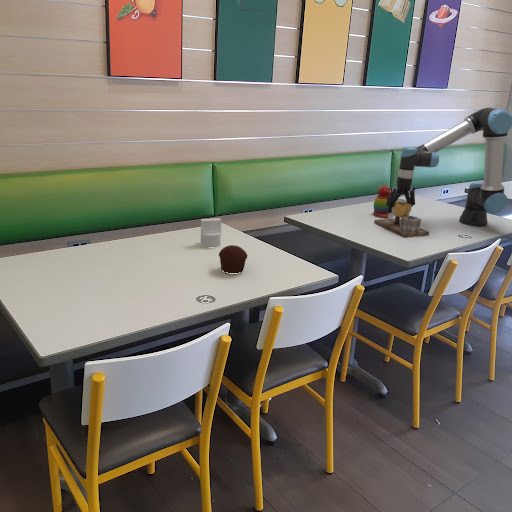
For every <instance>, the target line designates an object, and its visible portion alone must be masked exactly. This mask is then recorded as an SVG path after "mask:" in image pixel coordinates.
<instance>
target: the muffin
mask: <svg viewBox="0 0 512 512" xmlns="http://www.w3.org/2000/svg"><path fill="white" fill-rule="evenodd" d="M218 257H219V261H220V269H221V270H220V271H222V270H223V271H224V272H228V273H239V272H242V271H243V272H244V270H245V265H246V260H247V258H248V254H247V252H246V250H245V249H243V248H242V247H241V246H239V245H234V244H233V245H231V244H230V245H227V246H224V247H223V248H222V249H221V250H220V251H219V252H218ZM243 269H244V270H243ZM223 271H222V272H223ZM224 272H223V273H224Z"/></svg>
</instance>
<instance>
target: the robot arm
mask: <svg viewBox="0 0 512 512" xmlns="http://www.w3.org/2000/svg"><path fill="white" fill-rule="evenodd" d="M511 128H512V114H511V113H510V112H509V111H508V110H505V109H502V108H495V107H494V108H493V107H484V108H481V109H479V110H477V111H475V112H473V113H471V114H470V115H468V116H466V117H464V119H463V121H461V122H459V123H458V124H456V125H454V126H453V127H450V128H448V130H445V131H444V132H442V133H441V134H438V135H437V136H435V137H433V138H432V139H430V140H428V141H427V142H425V143H423V144H421V145H419V146H417V147H413V146H403V148H402V150H401V153H400V154H401V155H400V159H399V161H400V162H399V167H398V172H397V176H398V177H397V181H396V187H393V186H392V187H391V189H390V190H391V193H390V195H389V198H388V200H387V203H386V205H387V206H389V209H388V212H389V215H388V218H387V219H394V218H393V217H394V216H393V212H394V207H393V206H394V204H395V203H396V201H397V200H398V199H400V197H401V196H404V198H405V201H407V202H408V204H411V205H412V206H411V209H410V212H411V210H412V207H414V206H415V205H416V196H415V195H416V194H415V191H416V188H415V187H413V186H412V183H413V177H414V170H415V167H420V168H422V167H423V168H436V167H438V165H439V162H440V155H439V152H441V150H444V149H445V148H447V147H449V146H450V145H453V144H455V143H456V142H457V141H460V140H461V139H463V138H465V137H466V136H468V135H470V134H472V135H474V134H476V133H478V132H481V131H482V138H484V140H485V149H484V170H483V171H484V173H483V175H484V176H483V183H478V182H471V183H469V186H468V189H467V196H466V199H465V200H466V201H465V205H464V206H465V207H464V210H463V211H462V213H461V215H460V216H459V219H458V222H459V223H461V224H463V225H467V226H472V227H486V225H487V226H488V223H489V222H488V213H490V214H498V213H500V212H503V211H504V209H506V207H507V206H508V203H509V201H508V200H509V198H508V197H507V195H506V193H505V186H504V185H503V184H502V179H503V164H504V163H503V161H504V146H505V145H504V143H505V138H506V137H507V136H508V132H509V131H510V130H511ZM410 212H409V215H408V216H410Z"/></svg>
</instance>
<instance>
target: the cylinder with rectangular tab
mask: <svg viewBox="0 0 512 512" xmlns="http://www.w3.org/2000/svg"><path fill="white" fill-rule="evenodd" d="M221 237H222V218H220V217H216V218H215V217H214V218H201V219H200V246H201V245H202V246H204V247H203V248H205V247H217V246H220V247H221V243H222V242H221V240H222V239H221ZM202 246H201V247H202ZM217 248H218V247H217Z"/></svg>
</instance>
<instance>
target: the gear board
mask: <svg viewBox="0 0 512 512" xmlns="http://www.w3.org/2000/svg"><path fill="white" fill-rule="evenodd" d="M394 217H395V218H392V219H389V218H387V219H384V218H380V219H374V221H373V224H374V223H375V224H374V225H376V226H379V227H381V228H383V229H384V230H387V231H389V230H390V231H389V232H391V231H392V232H391V233H393V232H394V233H393V234H395V233H396V234H395V235H397V234H398V235H397V236H399V235H400V236H399V237H401V236H402V238H403V237H405V238H413V236H417V237H426V236H425V235H428V236H430V231H429V230H426V229H424V228H422V227H421V224H422V218H421V217H420V218H419V217H418V216H413V215H409V216H402V218H399V217H398V216H394Z"/></svg>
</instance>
